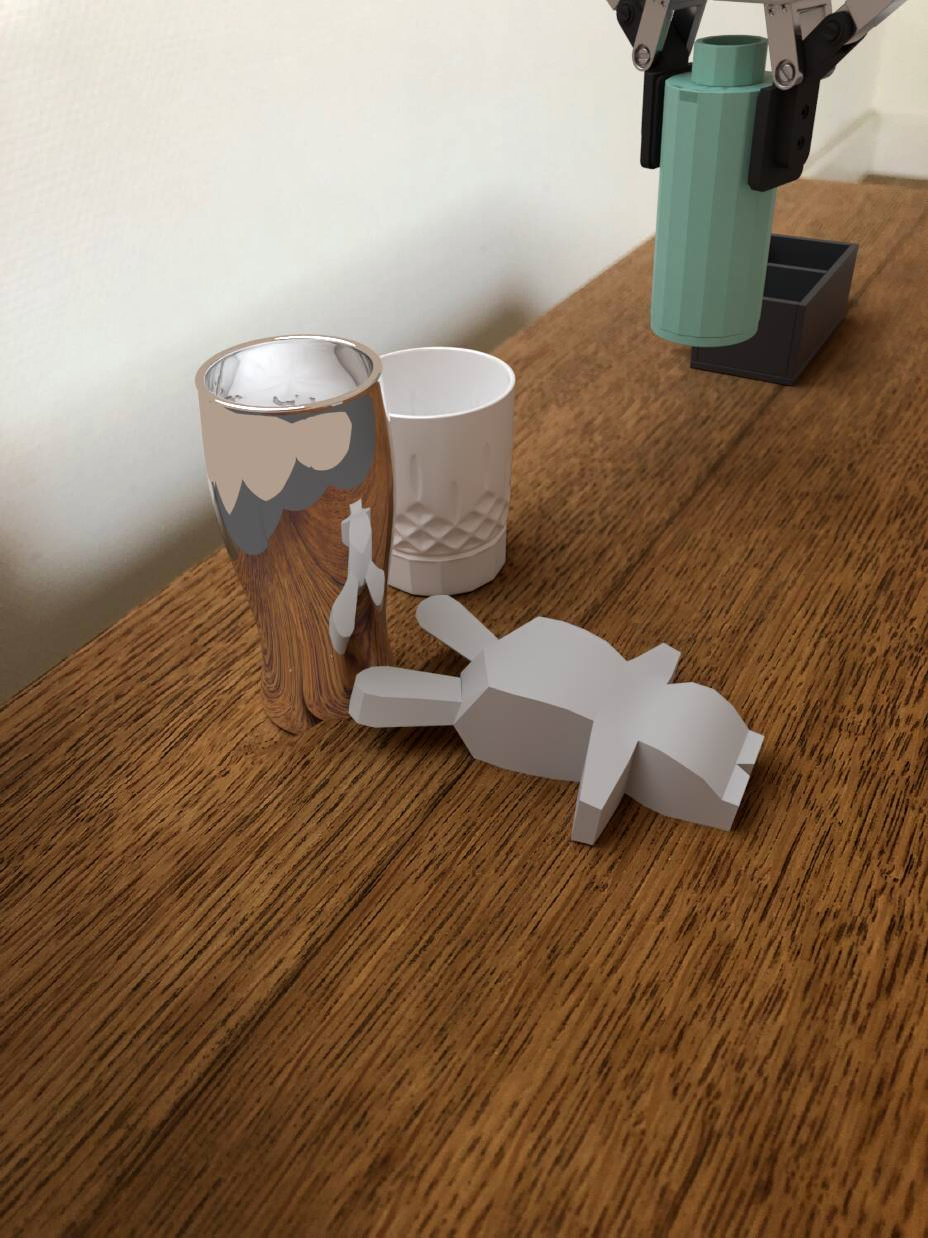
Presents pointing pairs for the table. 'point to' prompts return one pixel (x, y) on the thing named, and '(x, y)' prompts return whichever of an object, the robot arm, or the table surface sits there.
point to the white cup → (449, 466)
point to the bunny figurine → (574, 717)
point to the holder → (790, 311)
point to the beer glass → (304, 510)
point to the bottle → (711, 199)
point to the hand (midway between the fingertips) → (718, 168)
